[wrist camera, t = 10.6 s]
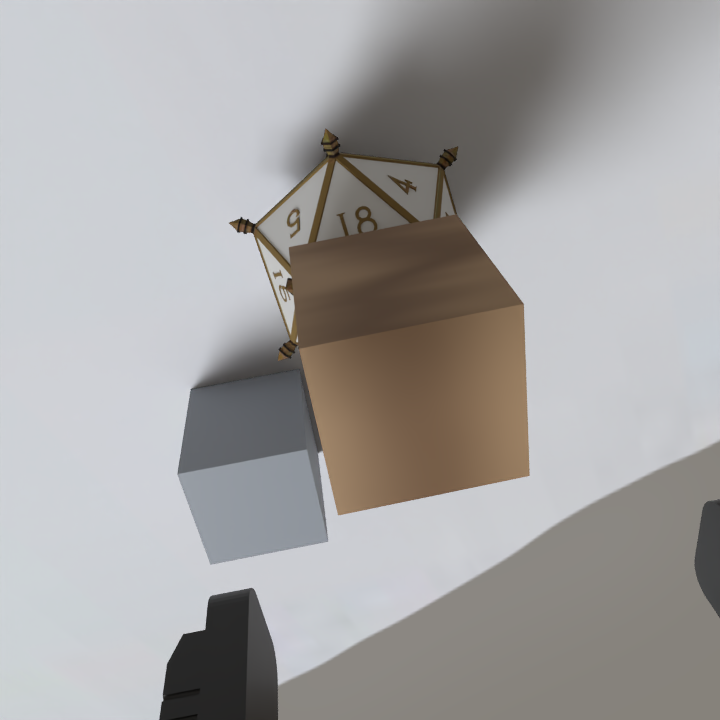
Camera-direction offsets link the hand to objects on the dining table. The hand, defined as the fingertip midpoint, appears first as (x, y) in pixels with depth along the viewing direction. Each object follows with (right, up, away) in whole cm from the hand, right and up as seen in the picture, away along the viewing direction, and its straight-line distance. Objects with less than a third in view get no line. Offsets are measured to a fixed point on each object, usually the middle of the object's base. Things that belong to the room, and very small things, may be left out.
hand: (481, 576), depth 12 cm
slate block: (-7, +1, +20) cm, 22 cm away
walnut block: (-1, +6, +9) cm, 11 cm away
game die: (-2, +10, +16) cm, 19 cm away
